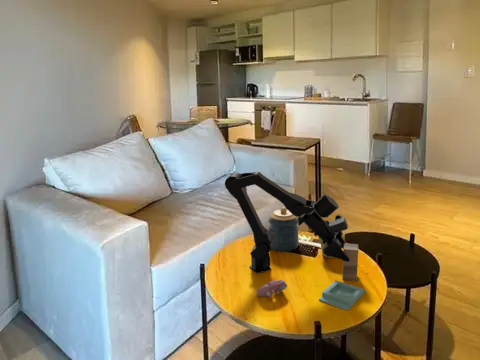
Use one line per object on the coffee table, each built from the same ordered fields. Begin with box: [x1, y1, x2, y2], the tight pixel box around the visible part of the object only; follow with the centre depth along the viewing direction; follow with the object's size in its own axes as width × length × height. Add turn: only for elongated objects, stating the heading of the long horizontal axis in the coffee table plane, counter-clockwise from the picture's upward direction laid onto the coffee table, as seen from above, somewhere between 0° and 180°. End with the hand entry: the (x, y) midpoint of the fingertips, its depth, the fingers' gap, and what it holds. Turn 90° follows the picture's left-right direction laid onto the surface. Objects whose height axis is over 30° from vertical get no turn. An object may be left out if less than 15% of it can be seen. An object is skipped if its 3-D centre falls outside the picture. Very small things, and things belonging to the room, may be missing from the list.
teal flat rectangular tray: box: [318, 280, 366, 311], centre depth 139 cm, size 14×10×2 cm
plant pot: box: [317, 230, 346, 259], centre depth 169 cm, size 10×10×10 cm
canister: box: [267, 206, 300, 253], centre depth 177 cm, size 13×13×18 cm
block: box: [342, 243, 359, 282], centre depth 151 cm, size 5×5×12 cm
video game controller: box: [256, 279, 288, 298], centre depth 141 cm, size 10×5×7 cm
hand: (348, 255), depth 150 cm, fingers open, 9 cm apart
